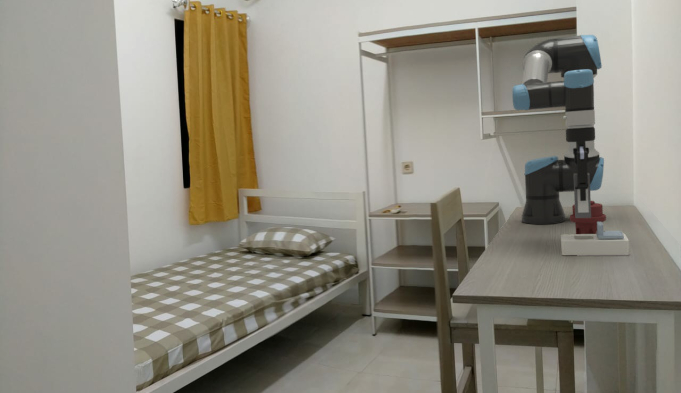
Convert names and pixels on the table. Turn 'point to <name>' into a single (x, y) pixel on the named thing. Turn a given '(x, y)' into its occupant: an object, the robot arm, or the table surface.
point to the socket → (593, 245)
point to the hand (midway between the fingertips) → (582, 210)
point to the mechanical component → (589, 219)
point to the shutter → (607, 233)
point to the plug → (577, 215)
